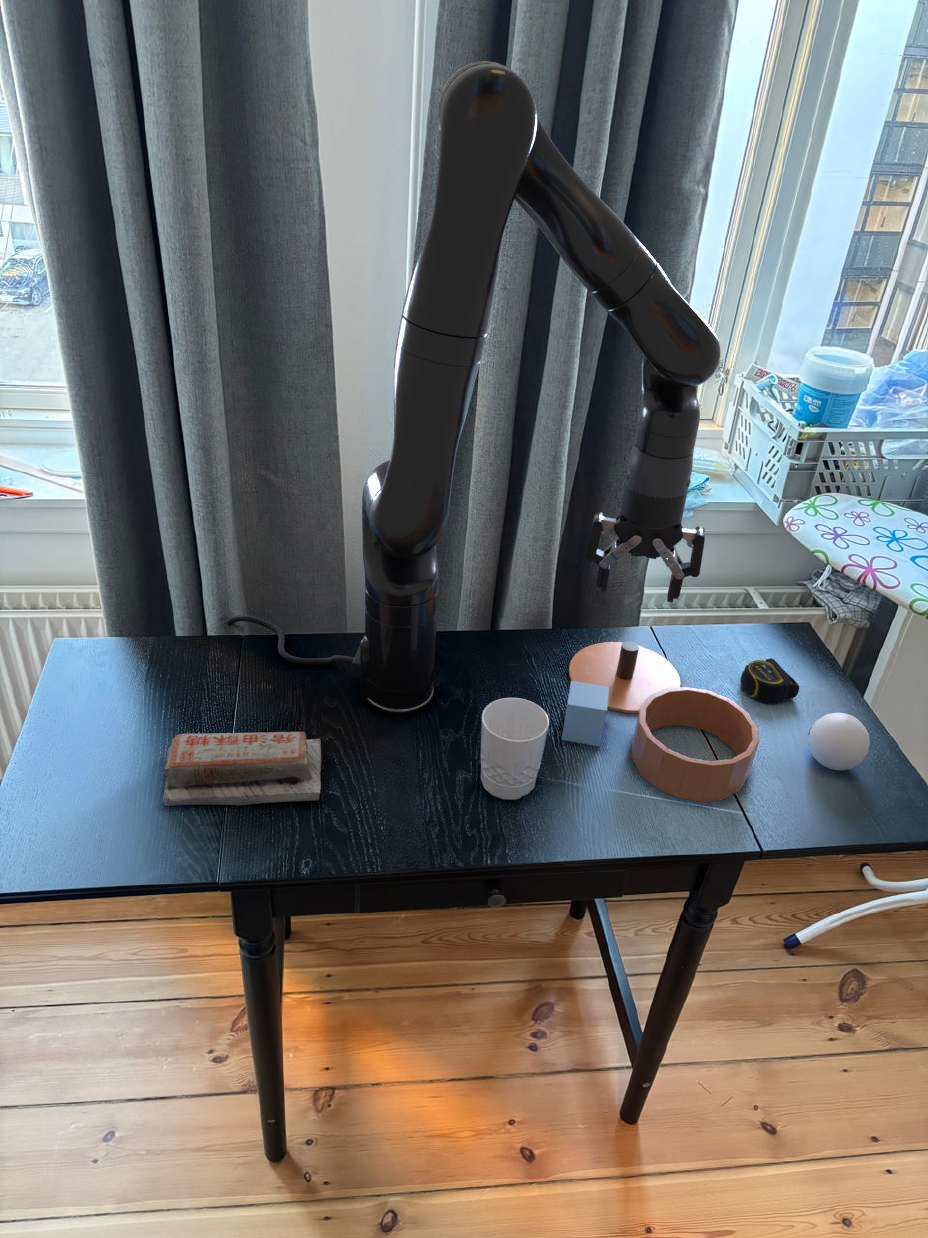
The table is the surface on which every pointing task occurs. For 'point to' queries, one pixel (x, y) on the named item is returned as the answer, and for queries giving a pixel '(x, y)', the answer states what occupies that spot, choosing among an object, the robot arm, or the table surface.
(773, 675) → the tape measure
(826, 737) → the white oval ball
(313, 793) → the packaged product
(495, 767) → the white cup
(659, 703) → the orange round container
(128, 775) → the table surface
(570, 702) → the block
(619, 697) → the lid
